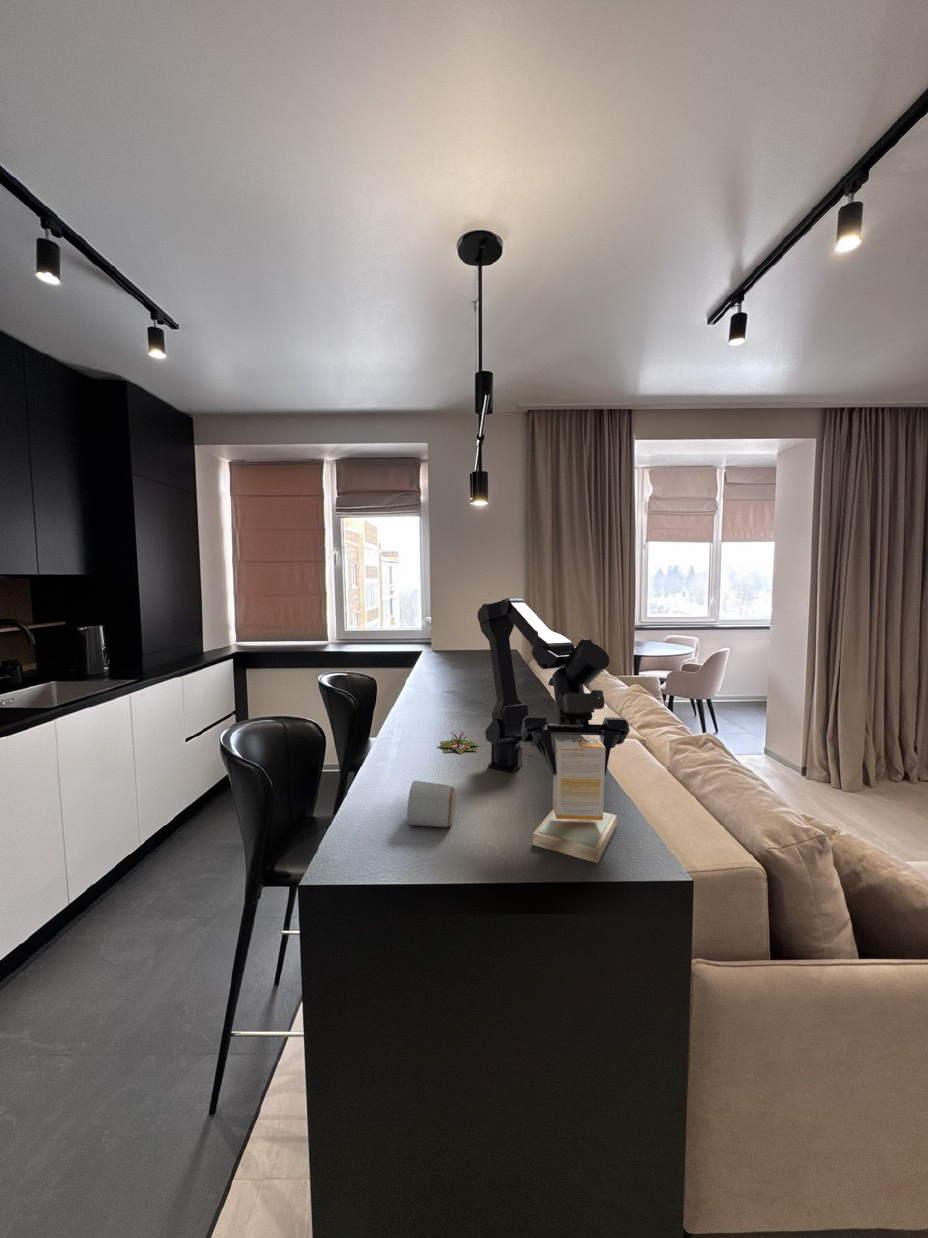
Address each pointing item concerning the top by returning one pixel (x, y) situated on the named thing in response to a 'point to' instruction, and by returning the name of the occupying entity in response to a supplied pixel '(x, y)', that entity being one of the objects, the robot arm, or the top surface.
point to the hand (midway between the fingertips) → (579, 775)
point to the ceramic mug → (431, 804)
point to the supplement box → (579, 778)
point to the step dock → (576, 835)
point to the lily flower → (458, 741)
